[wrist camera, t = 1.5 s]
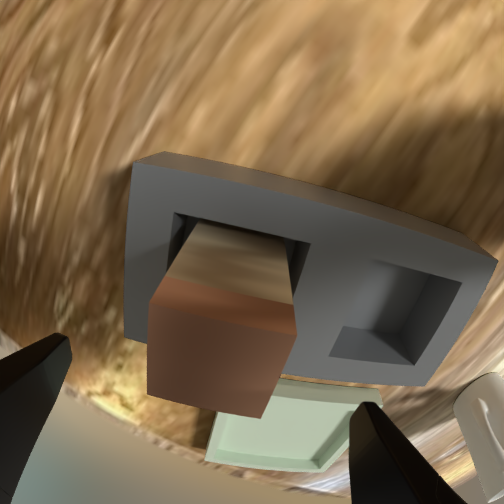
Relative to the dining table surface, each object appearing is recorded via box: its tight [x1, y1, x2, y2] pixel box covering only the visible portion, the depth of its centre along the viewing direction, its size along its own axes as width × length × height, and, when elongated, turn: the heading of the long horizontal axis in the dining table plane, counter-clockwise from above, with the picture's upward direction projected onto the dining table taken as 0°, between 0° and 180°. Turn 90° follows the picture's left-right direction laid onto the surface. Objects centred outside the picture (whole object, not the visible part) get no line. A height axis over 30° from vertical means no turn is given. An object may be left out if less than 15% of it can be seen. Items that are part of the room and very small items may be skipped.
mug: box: [453, 373, 504, 503], centre depth 16 cm, size 10×7×12 cm, turn 52°
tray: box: [205, 378, 383, 473], centre depth 22 cm, size 12×12×2 cm
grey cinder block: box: [124, 151, 498, 386], centre depth 15 cm, size 18×9×4 cm, turn 77°
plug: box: [147, 218, 297, 419], centre depth 12 cm, size 4×4×8 cm
